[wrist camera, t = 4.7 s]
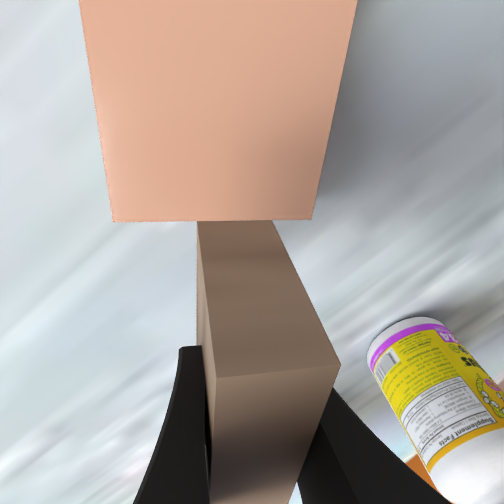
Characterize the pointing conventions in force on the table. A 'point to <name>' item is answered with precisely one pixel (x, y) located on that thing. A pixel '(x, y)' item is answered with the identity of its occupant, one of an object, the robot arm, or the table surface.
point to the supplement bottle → (444, 408)
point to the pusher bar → (257, 362)
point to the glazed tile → (215, 104)
